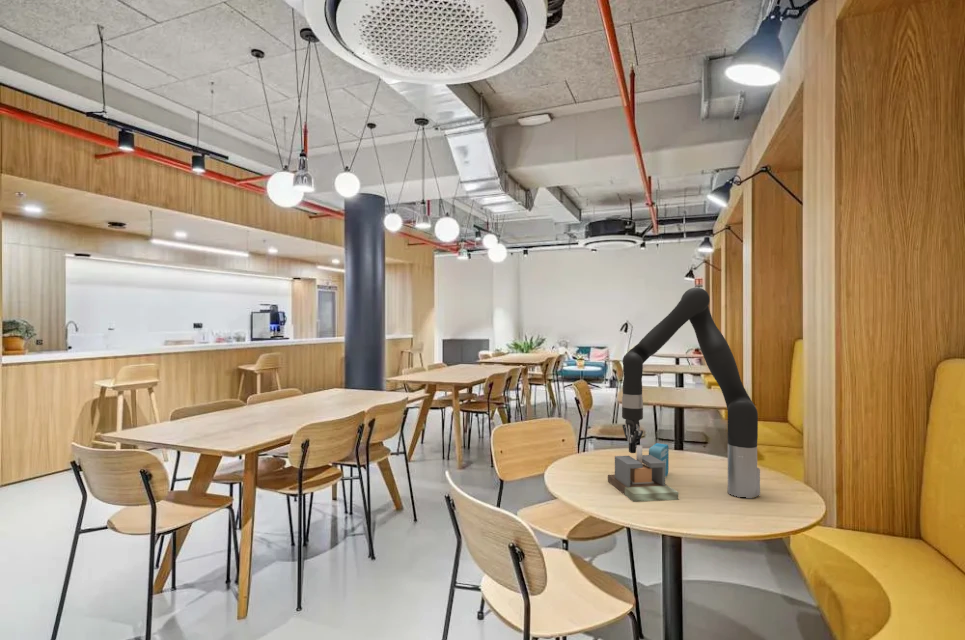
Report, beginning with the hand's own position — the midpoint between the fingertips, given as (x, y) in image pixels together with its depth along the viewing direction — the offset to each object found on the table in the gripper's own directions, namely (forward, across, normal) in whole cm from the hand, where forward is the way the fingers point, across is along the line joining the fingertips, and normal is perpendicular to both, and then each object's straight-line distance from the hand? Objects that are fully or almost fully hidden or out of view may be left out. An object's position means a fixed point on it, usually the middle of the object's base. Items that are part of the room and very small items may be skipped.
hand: (632, 452), depth 187 cm
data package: (+12, +7, -14) cm, 19 cm away
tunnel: (+9, -6, 0) cm, 11 cm away
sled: (+9, -6, 0) cm, 11 cm away
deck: (+12, -7, 0) cm, 14 cm away
